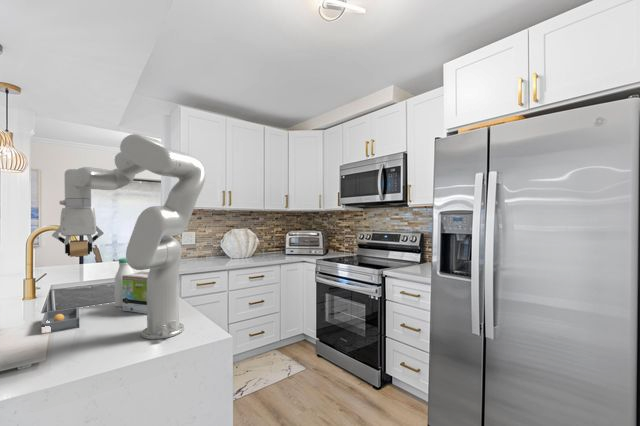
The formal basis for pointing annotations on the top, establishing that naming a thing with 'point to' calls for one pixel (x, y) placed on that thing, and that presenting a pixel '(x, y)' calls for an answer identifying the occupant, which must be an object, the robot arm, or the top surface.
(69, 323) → the tray
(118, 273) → the milk bottle
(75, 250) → the brown wooden cube
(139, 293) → the tea box
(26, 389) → the top surface
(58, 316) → the ball
